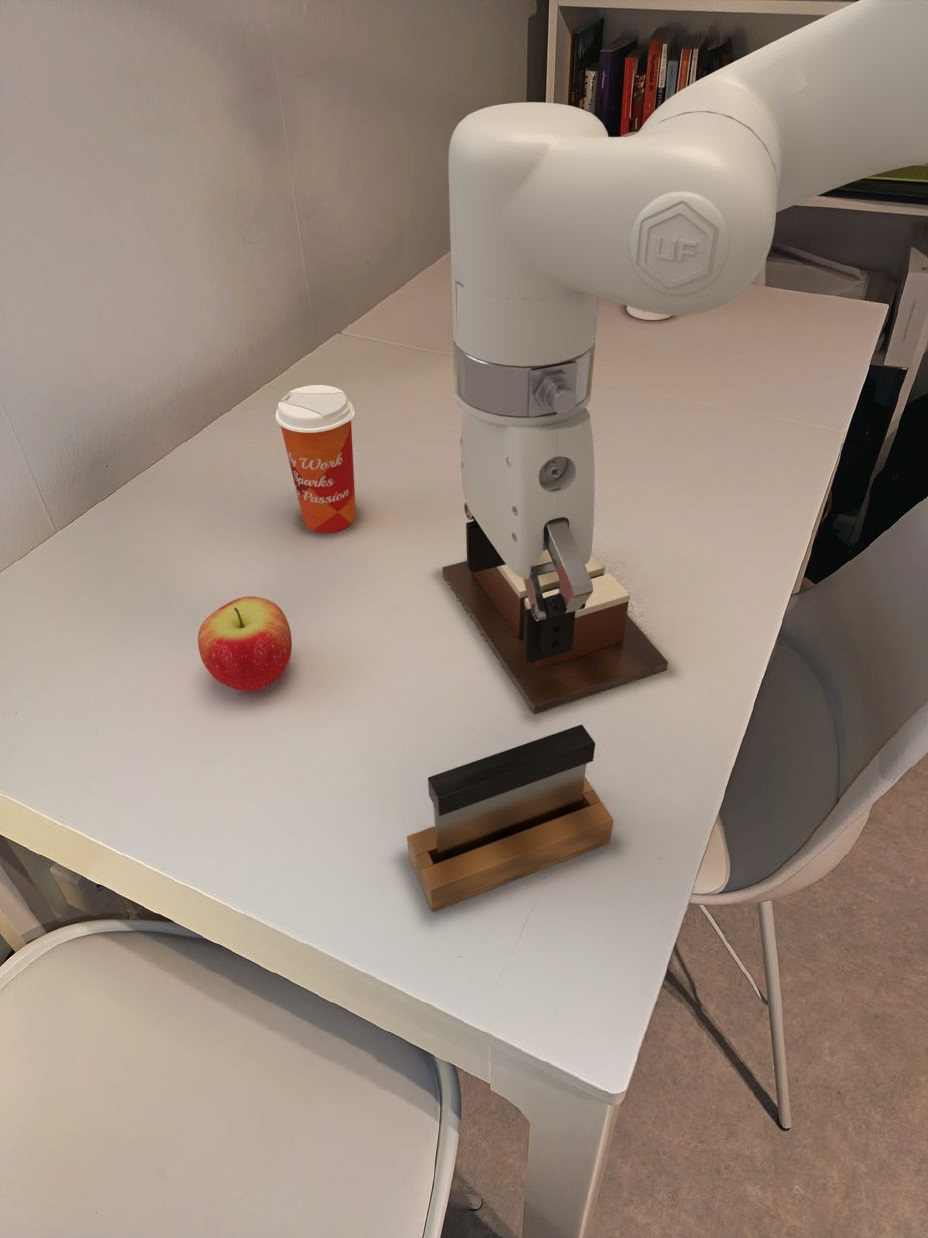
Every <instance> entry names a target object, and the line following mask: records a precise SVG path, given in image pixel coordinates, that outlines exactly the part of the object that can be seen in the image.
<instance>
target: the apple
mask: <svg viewBox="0 0 928 1238" xmlns="http://www.w3.org/2000/svg"><path fill="white" fill-rule="evenodd" d="M292 640H293V638H292V631H291V627H290V623H289V621H288V619H287V616H286V615H285V613H284V612H283V610H282V609H281V607H279V605H278V604H277V603H275V602H273V601H272V600H269V599H267V598H264V597H259V596H241V597H238V598H236V599H234V600H231V601H229V602H227V603H226V604H224V605H222V606H221V607H219V608H217V609H215V611H213V612H212V613H211V614H210V615H209V616H208V617H206V618H205V619H204V620H203V621H202V623H201V625H200V627H199V630H198V635H197V645H198V646H197V647H198V652H199V655H200V659H201V661H202V663H203V666H204V667H205V669H206V670H207V672H208V674H210V675H211V677H213V678H214V679H215V680H216V681H217V682H219V684H220V683H221V684H222V685H223V686H225V687H227V688H230V689H233V690H236V691H241V692H256V691H259V690H263V689H265V688H266V687H268V686H270V685H272V684H273V683H275V682H276V681H277V680H278V679H280V677H281V676H282V675H283V674H284V672H285V671H286V669H287V667H288V665H289V662H290V659H291V655H292V647H293V646H292V645H293V641H292Z"/></svg>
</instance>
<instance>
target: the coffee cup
mask: <svg viewBox="0 0 928 1238" xmlns="http://www.w3.org/2000/svg"><path fill="white" fill-rule="evenodd" d="M355 413H356V412H355V409H354V406H353V404H352V403H351V401H349V399H348V397H347V396H346V394H345V392H344V391H343V390H341V389H340V388H337V387H335V386H332V385H323V384H312V385H305V386H300V387H298V388H294V389H291V390H290V391H288V392H287V394H285V395H284V396H283V397H282V398H281V399H280V401H279V402H278V405H277V409H276V412H275V421H276V422H277V423H278V425H279V426H280V428H281V432H282V437H283V441H284V445H285V450H286V453H287V459H288V462H289V467H290V471H291V475H292V478H293V483H294V487H295V492H296V495H297V500H298V504H299V507H300V511H301V517H302V520H303V522H304V524H305V526H306V527H307V528H308V529H309V530H311V531H312V532H316V533H321V534H334V533H337V532H340V531H344V530H346V529H347V528H349V527H350V526H351V525H352V524H353V523H354V522H355V520H356V493H355V492H356V489H355V468H354V451H353V433H352V432H353V429H352V419H353V418H354V416H355Z"/></svg>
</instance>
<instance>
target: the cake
mask: <svg viewBox="0 0 928 1238" xmlns="http://www.w3.org/2000/svg"><path fill="white" fill-rule="evenodd" d="M551 561H552V559H551V557H550V555H549V552H548V550H546V551H542V554H541V556H540V558H539V560H538V562H537V564H536V565H539V564H543V563H547V562H551ZM585 567H586V569H587V572H588V574H589V576H590V579H593V578H596V577H600V576H603V575H605V572H606V566H605V565H604V564H603V563H602V562H601V561H600V560H599V558H598V557H597V556H596V555H595V554H594V553H593V552H591V557H590V560H589V562H588V563H587V564H585ZM441 569H442V576H444V578H445V580H446V581H447V583H448V585H449V586H450V587H451V589H452V591H453V592H454V594H455V595H456V597H457V599H458V600H459V602H460V603H461V604H462V606H463V608H464V609H465V610H466V612H467V614H468V615H469V617H470V618H471V621H473V623H474V624H475V626H476V628H477V629H478V631H479V632H480V634H481V635H482V636H483V638H484V640H485V641H486V643H487V644H488V646H489V647H490V649H491V651H492V652H493V654H494V655H495V656H496V658H497V661H498V662H499V663H500V664H501V666H502V667H503V669H504V670H505V672H506V673H507V675H508V676H509V678H510V680H511V681H512V683H513V684H514V685H515V687H516V688H517V690H518V692H519V693H520V695H521V696H522V698H523V699H524V701H525V703H526V704H527V705H528V707H529V709H530V710H531V712H532V713H533V714H538V713H541V712H544V711H547V710H551V709H553V708H556V707H559V706H561V705H564V704H568V703H571V702H573V701H577V700H580V699H583V698H586V697H588V696H592V695H594V694H598V693H600V692H601V693H602V692H604V691H606V690H610V689H613V688H615V687H618V686H621V685H624V684H627V683H630V682H633V681H636V680H639V679H642V678H645V677H647V676H651V675H654V674H657V673H660V672H664V671H667V670H668V665H669V662H668V659H666V657H664V655H663V654H662V653H661V652H660V651H659V650H658V648H657V647H656V646H655V645H654V644H653V642H652V641H651V640H650V639H649V638H648V636H646V634H644V632H643V631H642V630H641V628H640V627H639V626H638V625H637V624H636V623H635V621H634V620H633V619H632V618H631V617H630V616H629V615H628V614H627V618H626V625H625V632H624V640H623V643H620V644H617V645H614V646H611V647H607V648H604V649H601V650H598V651H595V652H592V653H589V654H586V655H582V656H579V657H576V658H573V659H570V660H567V661H564V662H561V663H558V664H554V665H551V666H548V667H545V668H542V669H539V668H538V667H537V665H536V664H535V662H531V663H529V662H527V661H526V659H525V658H524V656H523V637H524V611H525V598H528V596H527V592H526V588H525V584H524V580H523V578H521V577H519V576H518V575H516V574H515V573H513V572H512V571H511V570H510V569H509V567H508V566H507V565H502V566H498V567H494V568H490V569H486V570H482V571H478V572H471V571H470V570H469V568H468V566H467V560H463V561H461V562H457V563H453V564H450V565H446V566H443V567H442V568H441ZM538 578H539V582H540V587H541V591H542V593H545V592H549V591H552V590H556V589H559V587H560V581H559V577H558V574H557V572H556V571H554V572H550V573H547V574H543V575H539V576H538Z"/></svg>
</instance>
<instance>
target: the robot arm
mask: <svg viewBox="0 0 928 1238" xmlns="http://www.w3.org/2000/svg"><path fill="white" fill-rule="evenodd" d="M925 164H928V0H858V1H856V2H855V1H854V2H852V3H850V4H849V5H847V6H844V7H842V8H839V9H838V10H835V11H833V12H832V13H830V14H827V15H825V16H823V17H821V18H819V19H817V20H815V21H813V22H810V23H809V24H807V25H804V26H803V27H801V28H798V29H796V30H794V31H793V32H790V33H788V34H786V35H784V36H782V37H780V38H779V39H777V40H775V41H772V42H770V43H768V44H766V45H764V46H763V47H761V48H759V49H756V50H754V51H752V52H751V53H749V54H747V55H745V56H743V57H741V58H739V59H737V60H735V61H733V62H731V63H729V64H727V65H725V66H723V67H721V68H719V69H718V70H715V71H713V72H711V73H710V74H708V75H706V76H704V77H702V78H700V79H698V80H696V81H695V82H692V83H691V84H689V85H687V86H685V87H684V88H682V89H681V90H679V91H677V92H676V93H675V94H673V95H672V96H670V97H669V98H668V99H666V100H665V101H664V102H662V104H660V105H659V106H658V107H657V108H656V109H655V110H654V111H653V112H652V113H651V115H649V117H648V118H647V119H646V121H645V122H644V123H643V124H642V126H641V127H640V128H639V130H638V131H637V133H635V134H632V135H629V136H609V133H608V131H607V129H606V127H605V125H604V123H603V121H601V120H600V119H599V118H598V117H597V115H595V114H593V113H592V112H590V111H587V110H585V109H582V108H579V107H577V106H573V105H568V104H564V103H563V104H562V103H556V102H555V103H554V102H543V101H542V102H541V101H539V102H537V101H533V102H532V101H530V102H529V101H527V102H523V101H522V102H510V103H501V104H495V105H491V106H485V107H483V108H481V109H478V110H475V111H473V112H471V113H469V114H467V116H465V117H464V118H463V119H462V120H461V121H459V122H458V124H457V125H456V126H455V129H454V130H453V133H452V135H451V137H450V141H449V146H448V169H447V171H448V200H449V203H448V205H449V235H450V236H449V239H450V271H451V272H450V273H451V275H450V276H451V292H452V293H451V298H452V300H451V301H452V302H451V303H452V304H451V305H452V334H453V339H452V342H453V343H452V344H453V345H452V346H453V347H452V348H453V378H454V379H453V380H454V382H453V383H454V398H455V401H456V403H457V405H459V407H460V409H461V429H460V430H461V432H460V443H459V444H460V466H461V469H460V470H461V471H460V472H461V484H462V492H463V498H464V501H465V502H464V503H463V511H464V514H465V517H466V519H467V520H468V522H465V536H466V537H465V538H466V539H465V540H466V542H465V543H466V544H465V545H466V561H467V566H468V568H469V570H470V571H471V572H478V571H482V570H486V569H490V568H494V567H498V566H502V565H507V566H508V567H509V569H510V570H511V571H512V572H513V573H515V574H516V575H518V576H519V577H521V578H523V580H524V584H525V588H526V592H527V596H528V600H529V604H530V609H528V610H526V611H524V637H523V656H524V658H525V659H526V661H527V662H529V663H531V662H535V661H538V660H542V659H545V658H549V657H552V656H556V655H559V654H563V653H566V652H569V651H570V650H571V649H572V647H573V636H574V624H575V613H576V611H577V610H580V609H584V608H585V606H586V601H587V600H588V598H589V597H590V595H591V594H592V592H593V584H592V581H591V579H590V576H589V574H588V572H587V569H586V567H585V564H587V563H588V562H589V560H590V557H591V552H592V550H593V542H594V541H593V539H594V520H595V492H596V491H595V485H596V484H595V480H596V479H595V477H596V475H595V474H596V473H595V451H594V439H593V438H594V437H593V428H592V420H591V414H590V412H589V410H588V409H587V406H588V405H589V404H590V402H591V396H592V387H593V374H594V365H595V364H594V363H595V351H596V335H597V326H598V314H599V312H598V311H599V302H600V301H599V299H603V300H606V301H611V302H614V303H618V304H621V305H624V306H626V307H627V306H630V307H633V308H637V309H640V310H644V311H649V312H653V313H658V314H665V315H672V316H674V317H675V316H677V317H679V316H684V317H685V316H697V315H701V314H705V313H706V314H707V313H708V312H711V311H714V310H718V309H720V308H722V307H724V306H726V305H728V304H729V303H731V302H732V301H734V300H736V298H738V297H739V296H740V295H741V294H742V293H744V292H745V291H746V290H747V289H748V288H749V287H750V286H751V285H752V283H753V282H754V280H755V279H756V278H757V276H758V275H759V273H760V272H761V270H762V268H763V267H764V265H765V262H766V260H767V258H768V255H769V252H770V250H771V247H772V243H773V239H774V234H775V228H776V218H777V213H779V212H781V211H783V210H786V209H788V208H791V207H793V206H795V205H798V204H800V203H802V202H804V201H807V200H809V199H811V198H812V199H813V198H815V197H817V196H820V195H822V194H825V193H827V192H829V191H830V192H831V191H832V190H835V189H838V188H840V187H843V186H845V185H847V184H850V183H853V182H857V181H860V180H862V179H865V178H869V177H871V176H875V175H879V174H883V173H886V172H889V171H893V170H897V169H903V168H907V167H912V166H918V165H925ZM546 550H548V552H549V555H550V557H551V559H552V561H551V562H547V563H543V564H539V565H536V564H537V562H538V560H539V558H540V556H541V554H542V551H546ZM592 553H593V552H592ZM554 571H556V572H557V574H558V577H559V581H560V587H559V589H558V590H559V592H558V594H555V595H551V596H549V597H546V598H543V595H542V591H541V587H540V582H539V578H538V576H539V575H543V574H547V573H550V572H554Z"/></svg>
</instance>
